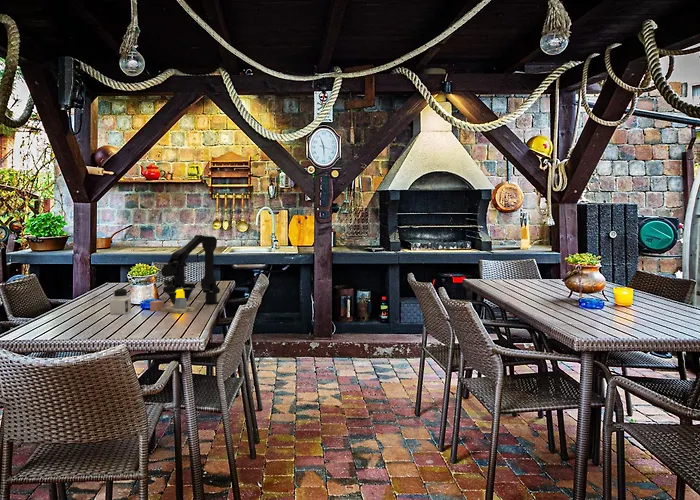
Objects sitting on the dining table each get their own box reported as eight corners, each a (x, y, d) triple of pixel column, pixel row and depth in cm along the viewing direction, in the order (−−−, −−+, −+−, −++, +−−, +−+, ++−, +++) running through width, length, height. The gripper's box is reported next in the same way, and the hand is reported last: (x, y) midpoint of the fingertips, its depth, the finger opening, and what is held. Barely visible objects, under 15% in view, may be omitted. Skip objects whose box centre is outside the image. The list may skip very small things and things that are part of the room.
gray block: (180, 306, 304) (179, 297, 304) (186, 307, 302) (186, 298, 301) (173, 307, 300) (173, 298, 299) (179, 308, 297) (179, 299, 297)
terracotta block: (157, 309, 304) (157, 300, 304) (163, 310, 302) (163, 301, 301) (150, 310, 300) (150, 301, 299) (156, 311, 297) (156, 302, 297)
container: (131, 311, 296) (130, 288, 295) (123, 314, 288) (123, 290, 287) (117, 311, 297) (116, 287, 296) (110, 314, 289) (109, 289, 288)
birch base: (180, 307, 310) (180, 304, 310) (198, 309, 304) (198, 306, 303) (161, 311, 298) (160, 308, 298) (179, 313, 291) (179, 310, 291)
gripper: (181, 272, 311) (181, 299, 312) (155, 275, 295) (156, 304, 296) (195, 273, 306) (196, 301, 307) (170, 277, 289) (171, 306, 291)
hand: (179, 303), depth 300 cm, fingers open, 9 cm apart
